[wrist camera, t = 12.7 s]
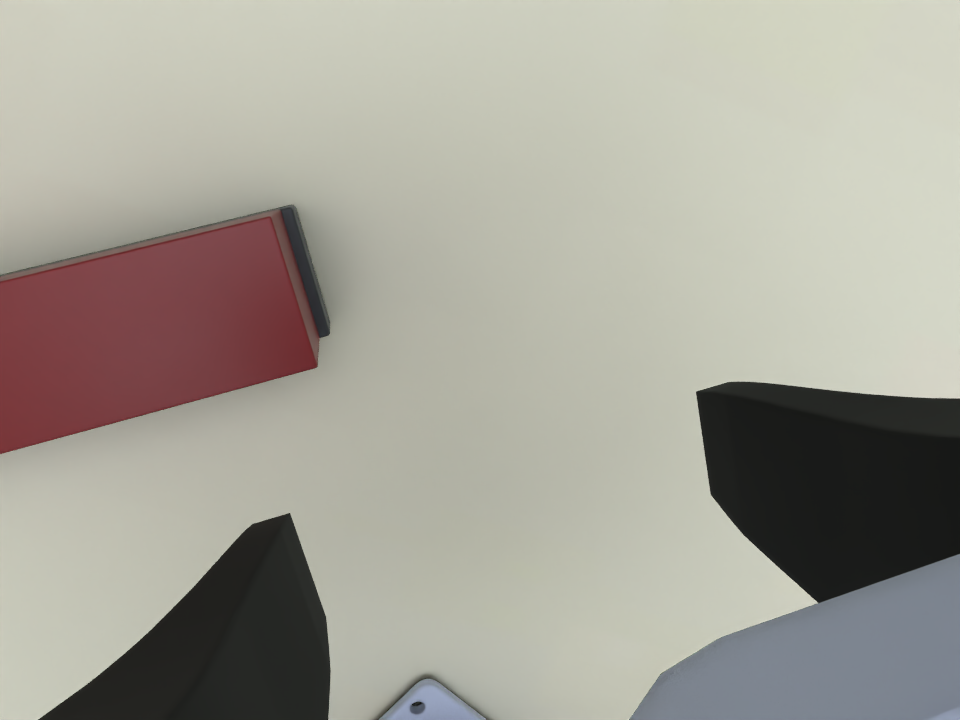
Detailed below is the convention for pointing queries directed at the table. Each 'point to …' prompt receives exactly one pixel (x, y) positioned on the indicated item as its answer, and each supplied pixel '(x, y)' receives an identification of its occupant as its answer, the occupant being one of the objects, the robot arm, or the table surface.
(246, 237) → the red two-tone bar
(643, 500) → the table surface
